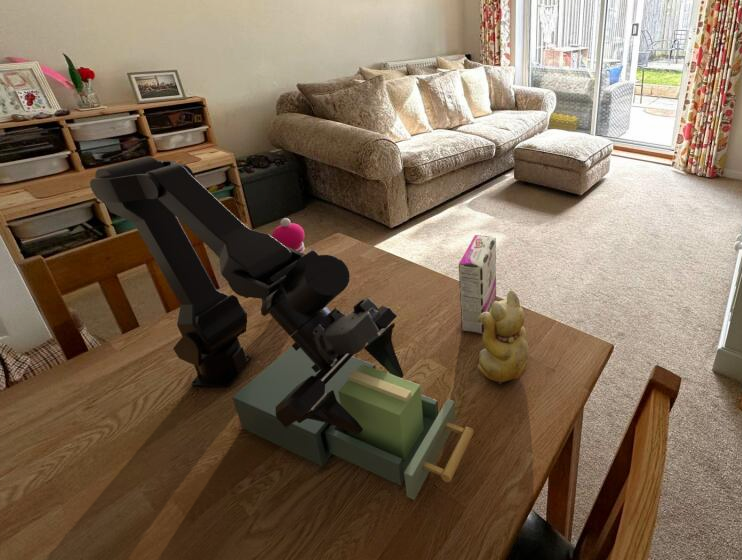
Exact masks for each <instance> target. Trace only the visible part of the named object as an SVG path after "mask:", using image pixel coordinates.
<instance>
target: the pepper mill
mask: <svg viewBox="0 0 742 560" xmlns="http://www.w3.org/2000/svg"><path fill="white" fill-rule="evenodd" d="M271 236H272V237H273V238H275V239H276V240H277V241H279V242H280V243H281V244H283V245H284V246H286V247H288V248H291V249H293V250H296V251H298V252H301V253H304V251H305V243H304V240H305V238H306V237H305V231H304V229H303V227H302V226H300V224H297V223H295V222H291V220H290V219H289V218H287V217H284V218H282V219H281V220H280V225H277V227H276V228H275V229H273V231H272V233H271Z"/></svg>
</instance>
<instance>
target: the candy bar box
mask: <svg viewBox="0 0 742 560" xmlns="http://www.w3.org/2000/svg"><path fill="white" fill-rule="evenodd" d="M458 281H459V282H458V283H459V296H460V299H459V301H460V321H461V331H464V332H468V333H469V332H470V333H475V334H481V335H483V333H484V330H485V326H484V324H483V323H482V322H478V318H479V316H480V314H481V313H483V312H489V310H490V308H491V306H492V303H493V302H494V301H497V237H496V236H489V235H488V236H487V235H481V234H474V236H472V239H471V241H470V243H469V245H468V247H467V248H466V250H465V252H464V254H463V255H462V257H461V259H460V261H459V262H458ZM494 296H495V297H494Z"/></svg>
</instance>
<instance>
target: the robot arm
mask: <svg viewBox="0 0 742 560" xmlns="http://www.w3.org/2000/svg"><path fill="white" fill-rule="evenodd" d="M94 177H95V178H92V179H90V182H89V185H90V190H91V191H92V193H93V195H94V196H95V197H96V198H97V200H99V201H100V202H103V204H104V206H105V207H106V208H107V209H108V211H109V212H110V213H111V214H114V215H116V216H118V217H120V218H122V219H124V220H126V221H127V222H130V223H132V224H134V226H135V228H136V230H137V232H138V233H139V235H140V237H141V238H142V240H143V242H144V243H145V245H146V247H147V249H148V251H149V253H150V254H151V256H152V257H153V260H154V261H155V263H156V265H157V266H158V268H159V270H160V271H161V273H162V275H163V276H164V278H165V280H166V282H167V284H168V286H169V287H170V289H171V290H172V292H173V294H174V295H175V297H176V299H177V301H178V302H179V305H180V306H179V312H178V317H177V321H176V326H177V328H178V330H179V333H180V335H181V338H180V339H179V340H178V341H177V343H176V344H174V346H173V347H172V349H173V351H174V353H175V354H176V356H177V357H178V359H179V360H182V361H184V362H186V363H188V364H191V365H193V366H194V368H195V371H196V376H195V378H194V379H193V380H192V382H191V386H192V387H197V388H198V387H201V388H203V387H204V388H205V387H206V388H208V387H209V388H228V387H230V386H231V385H232V384H233V383H234V381H235V380H236V379H237V378H238V376H239V375H240V374H241V372H242V371H243V370H244V368H245V367H246V366H247V364H249V362H250V360H251V359H252V356H251V355H250V354H245V351H244V347H243V346H242V345H241V344H240V340H239V337H240V336H242V334H244V333H246V332H247V325H248V313H247V311H246V310H245V308H244V307H243V306H242V305H241V303H240V301H239V298H238V297H237V296H236V295H238V296H240V297H244V299H249V298H252V299H261V308H260V314H261V316H263V317H266V316H267V315H270V316H271V317H272V318H273V319H274V320H275V322H276V323H277V324H278V325H279V326H280V327H281V328H282V329H283V331H284V332H285V333H286V334H287V335H288V336H289V337H290V338H291V339H292V340H293V341H294V343H292V344H291V346H292V347H293V348H294V349H295V350H296V351H297V350H298V349H299V348H301V349H302V350H303V351H304V353H305V354H306V355H307V356H308V357H309V358H310V359H311V360H312V361H313V363H314V365H313V366H312V367H311V368H312V369H313V370H314V371H315V372H318V371H319V370H320V371H319V372H318V373H317V374H316V375H315V376H312V375H311V376H310V377H309V378H307V379H306V380H304V381H303V382H302V383H300V384H299V385H298V386H297V387H295V388H294V389H293V390H292V391H291V392H290V393H289V394H288V395H287V396H286V397H285V398H284V399H283V400H282V401H281V402H280V403H279V404H278V405H277V406H276V417H277V419H278V420H279V421H280V422H281V423H282V424H283V425H284V427H285V428H286V427H287V426H289V425H290V424H292V423H294V422H295V421H297V422H298V423H301V422H302V421H304V420H305V419H312V420H316V421H321V422H325V423H329V424H331V425H334V426H337V427H340V428H343V429H345V430H348V431H351V432H353V433H356V434H359V433H361V432H362V430H363V429H362V427H361V426H360V425H359V423H358V422H357V421H356V420H355V419H354V418H353V417H352V416H351V415H350V414H349V413H348V412H347V411H346V410H345V409H344V408H343V407H342V406H341V405H340V404H339V403H338V402H337V400H336V397H335V394H334V391H333V390H332V391H330V392H329V393H327V394H326V393H325V384H326V383H327V382H328V381H329V380H330V379H331V378H332V377H333V376H334V375H335V374H336V373H337V372H338V371H339V370H340V369H341V368H342V366H343V365H344V364H345V363H346V362H347V361H348V360H349V359H350V358H351V357H354V355H356V354H358V353H360V352H361V351H363V349H364V350H365V351H366V352H367V353H368V354H369V355H370V356H371V357H372V358H374V359H375V360H376V362H378V363H379V364H380V365H381V366H382V367H383V368H384V369H385V370H386V371H387V373H389V374H391V375H394V376H397V377H400V378H402V379H403V377H404V373H403V369H402V366H401V365H400V362H399V359H398V357H397V353H396V351H395V348H394V344H393V340H392V339H393V338H392V337H393V336H392V335H393V329H394V328H395V327H396V324H395V322H393V321H394V320H395V319H396V318H397V317H398V315H397V313H396V312H395V311H394V310H393V309H392V307H389V306H386V305H381V306H380V307H378V305H377V304H375V303H374V302H373V301H372V299H370V297H365V298H361V299H360V300H359V301H358V302H356V304H354V305H353V310H352V311H351V312H350V313H349V314H347V315H346V314H344V313H343V312H342V311H341V310H340V309H337V308H336V307H335V308H334V309H332V310H331V309H330V308H329V306H328V305H329V304H330V303H331V302H332V301H333V300H335V299H336V298H337V297H338V296H339V295H340V294H342V292H344V291H345V290H346V288H347V287H348V285H349V283H350V277H351V276H350V271H349V268H348V266H347V264H346V263H345V261H343V260H342V259H340V258H338V257H336V256H334V255H331V254H318V253H317V251H316V250H315V249H312V248H311V249H310V250H308V251H307V252H306V253H304V252H303V253H301V252H298V251H296V250H293V249H291V248H288V247H286V246H284V245H283V244H281V243H280V242H279V241H277V240H276V239H275V238H273V237H272V234H269V233H265V232H260V231H257V230H252V229H250V228H249V227H248V226H247V225H245V224H244V223H243V221H241V219H239V218H238V217H236V215H234V213H232V212H231V210H229V209H228V207H226V206H225V205H224V204H223V203H222V202H221V201H219V199H218V198H216V197H215V196H214V195H213V194H212V193H211V192H210V191H209V190H208V189H207V188H206V187H205V186H204V185H203V184H201V183H200V182H199V180H197V179H196V177H195V173H194V171H193V170H192V169H191V168H190V167H189V166H188V165H187V164H184V163H177V162H176V161H175V160H157V159H156V158H155V157H152V156H150V155H149V156H143V157H139V158H136V159H131V160H128V161H124V162H120V163H117V164H112V165H109V166H104V167H101V168H98V169H97V170H95V174H94ZM181 223H182V224H184V226H186V227H187V228H188V230H190V231H191V232H192V233H193V234H194V235H195V236H196V237H197V238H198V239H199V240H201V242H202V243H203V244H205V245H206V246H207V247H208V248H209V249H210V250H211V251H213V253H214V254H215V255H216V256H217V257H218V259H219V267H220V274H221V276H222V277H223V278H224V279H225V280H226V281H227V284H228V286H229V288H230V289H231V290H232V291H233V292H234V294H235V295H234V294H227V293H225V292H222V291H220V290H218V289H217V288H216V286H215V285H214V282H213V281H212V279H211V277H210V276H209V273H208V272H207V270H206V268H205V266H204V264H203V262H202V261H201V259H200V257H199V255H198V253H197V252H196V250H195V248H194V246H193V244H192V242H191V241H190V238H189V237H188V235H187V233H186V232H185V229H184V228H183V226H182V224H181ZM335 359H337V360H336V361H335V362H334V360H335ZM333 362H334V363H333ZM332 363H333V364H332ZM331 364H332V365H331Z"/></svg>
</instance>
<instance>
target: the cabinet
mask: <svg viewBox="0 0 742 560" xmlns="http://www.w3.org/2000/svg"><path fill="white" fill-rule="evenodd" d="M336 360H337V359H335V360H334V362H335V361H336ZM334 362H333V363H334ZM333 363H332V364H333ZM332 364H331V365H332ZM362 364H364V365H366V366H369V367H372V368H375V369H377V368H376V364H374V363H372V362H369V361H366V360H363V359H361V358H358V357H355V356H352V357H351V358H350V359H349V360H348V361H347V362H346V363H345V364H344V365H343V366H342V368H341V369H340V370H339V371H338V372H337V373H336V374H335V375H334V376H333V377H332V378H331V379H330V380H329V381H328V382H327V383H326V384H325V393H326V394H327V393H329V392H330V391H332V390H333V391H334V394H335V397H336V400H337V402H338V403H339V404H340V405H341V403H340V398H339V392H338V391H339V389H340V388H341V387H342V386H343V385H344V384H345V383H346V382H347V381H348V379H349V378H348V376H349V375H350V374H351V373H352V372H353V371H354V370H355V371H357V369H358V368H359V367H360V366H361V365H362ZM313 365H314V363H313V361H312V360H311V359H310V358H309V357H308V356H307V355H306V354H305V353H304V351H303V350H302V349H301V348H299V349H298V350H297V351H296V350H295V349H294V348H293V347H292V345H290V347H289V348H288V349H287V350H285V351H284V352H283V353H282V354H281V355H280V356H279V357H278V358H276V359H275V360H273V362H271V363H270V364H269V365H268V366H267V367H266V368H265V369H264V370H262V371H261V372H260V373H259V374H258V375H257V376H255V377H254V378H252V380H251V381H250V382H248V383H247V384H246V385H244V387H242V388H241V389H240V390H239V391H238V392H237V393H236V394H234V395H233V396H232V401H233V404H234V407H235V410H236V413H237V416H238V420H239V423H240V426H241V428H242V430H245V431H247V432H249V433H251V434H253V435H255V436H258V437H259V438H262V439H264V440H266V441H268V442H270V443H272V444H274V445H276V446H278V447H281V448H283V449H285V450H287V451H289V452H291V453H293V454H295V455H296V456H298V457H301V458H303V459H306V460H308V461H310V462H312V463H314V464H316V465H318V466H320V467H324V465H325V464H327V462H328V461H329V459H330V458H331V457H332V456H333V454H331V453H330V452H329V448H328V443H327V439H326V434H325V432H326V430H327V429H328V428H329V427H330V426H331V424H329V423H325V422H321V421H316V420H312V419H305V420H304V421H302V422H301V423H298V422H297V421H295V422H294V423H292V424H290V425H289V426H287V427H286V428H285V427H284V425H283V424H282V423H281V422H280V421H279V420H278V419H277V417H276V406H277V405H278V404H279V403H280V402H281V401H282V400H283V399H284V398H285V397H286V396H287V395H288V394H289V393H290V392H291V391H292V390H293V389H294V388H295V387H297V386H298V385H299V384H300V383H302V382H303V381H304V380H306V379H307V378H309V377H310V376H311V375H312V376H315V375H316V374H317V373H318V372H319V371H320V370H319V371H318V372H315V371H314V370H313V369H312V368H311V367H312V366H313Z"/></svg>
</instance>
